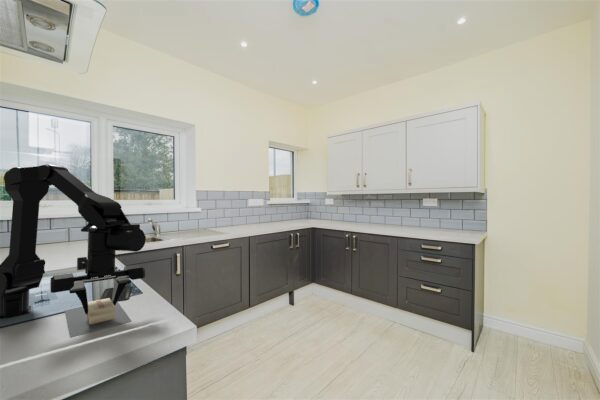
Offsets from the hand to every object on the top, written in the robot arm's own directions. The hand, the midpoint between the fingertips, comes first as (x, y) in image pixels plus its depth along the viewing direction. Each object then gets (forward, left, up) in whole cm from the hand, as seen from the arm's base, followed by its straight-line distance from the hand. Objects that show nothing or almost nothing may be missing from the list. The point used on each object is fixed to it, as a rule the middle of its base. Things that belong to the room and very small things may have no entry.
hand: (100, 310), depth 67 cm
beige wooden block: (0, 0, -1) cm, 1 cm away
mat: (-5, 0, -3) cm, 6 cm away
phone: (-21, +7, -4) cm, 22 cm away
